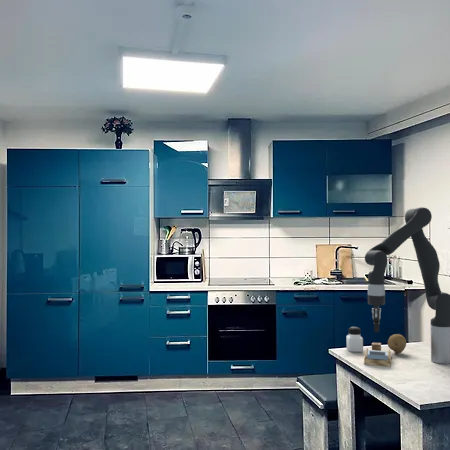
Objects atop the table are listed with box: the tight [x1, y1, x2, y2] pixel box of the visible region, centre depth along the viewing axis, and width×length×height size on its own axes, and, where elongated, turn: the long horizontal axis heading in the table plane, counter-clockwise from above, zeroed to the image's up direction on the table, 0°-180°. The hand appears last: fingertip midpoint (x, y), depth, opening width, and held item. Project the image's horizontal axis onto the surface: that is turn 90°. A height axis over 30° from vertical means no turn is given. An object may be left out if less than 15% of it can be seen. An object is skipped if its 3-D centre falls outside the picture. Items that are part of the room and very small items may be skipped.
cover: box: [367, 349, 388, 360], centre depth 232 cm, size 9×8×4 cm
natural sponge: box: [387, 333, 407, 355], centre depth 249 cm, size 9×9×10 cm
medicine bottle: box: [345, 326, 364, 353], centre depth 256 cm, size 7×7×12 cm
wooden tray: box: [363, 347, 392, 368], centre depth 236 cm, size 12×19×4 cm, turn 161°
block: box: [371, 342, 382, 351], centre depth 252 cm, size 4×4×4 cm
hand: (376, 331), depth 222 cm, fingers closed
